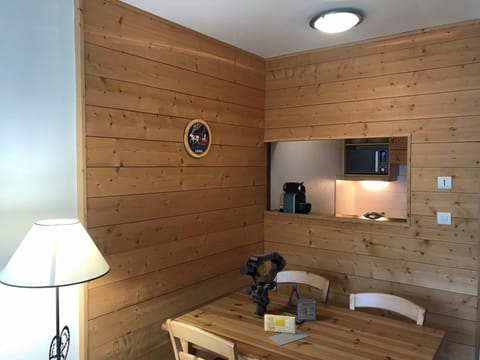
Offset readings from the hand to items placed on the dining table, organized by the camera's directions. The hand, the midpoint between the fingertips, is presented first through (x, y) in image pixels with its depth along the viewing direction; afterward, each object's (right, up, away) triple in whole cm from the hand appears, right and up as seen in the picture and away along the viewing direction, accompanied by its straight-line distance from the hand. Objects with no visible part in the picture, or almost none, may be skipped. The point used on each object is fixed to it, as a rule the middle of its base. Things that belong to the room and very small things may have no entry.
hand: (267, 301), depth 207 cm
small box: (+23, -13, +10) cm, 28 cm away
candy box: (+6, -13, -8) cm, 17 cm away
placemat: (+10, -14, -14) cm, 22 cm away
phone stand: (+20, -12, +34) cm, 41 cm away
